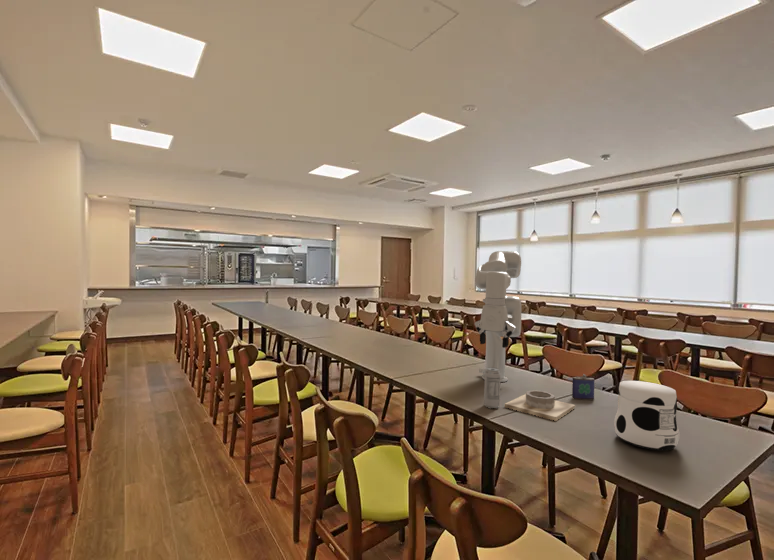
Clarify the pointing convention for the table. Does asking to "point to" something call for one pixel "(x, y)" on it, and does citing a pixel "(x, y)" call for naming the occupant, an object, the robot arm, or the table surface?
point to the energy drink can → (492, 388)
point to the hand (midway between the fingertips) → (493, 345)
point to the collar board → (538, 411)
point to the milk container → (647, 415)
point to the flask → (583, 387)
